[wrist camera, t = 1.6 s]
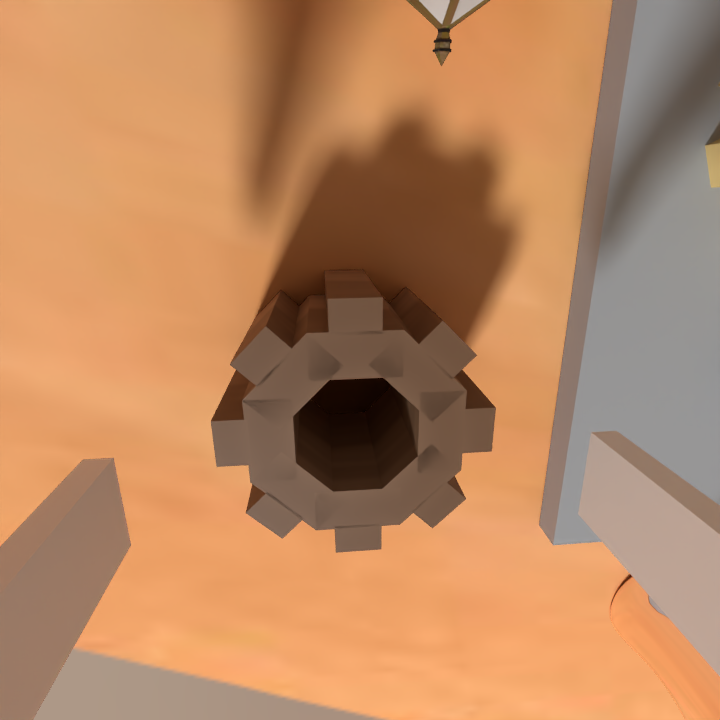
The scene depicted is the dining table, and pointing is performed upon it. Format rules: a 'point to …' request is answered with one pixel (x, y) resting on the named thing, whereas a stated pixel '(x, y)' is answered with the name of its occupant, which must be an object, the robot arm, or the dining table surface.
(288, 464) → the walnut gear
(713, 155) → the gear
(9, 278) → the dining table surface
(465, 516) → the dining table surface
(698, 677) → the beer glass
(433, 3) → the game die
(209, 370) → the dining table surface
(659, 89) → the gear board
